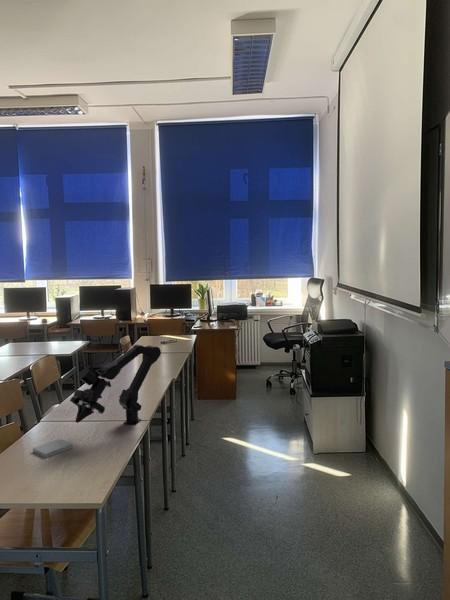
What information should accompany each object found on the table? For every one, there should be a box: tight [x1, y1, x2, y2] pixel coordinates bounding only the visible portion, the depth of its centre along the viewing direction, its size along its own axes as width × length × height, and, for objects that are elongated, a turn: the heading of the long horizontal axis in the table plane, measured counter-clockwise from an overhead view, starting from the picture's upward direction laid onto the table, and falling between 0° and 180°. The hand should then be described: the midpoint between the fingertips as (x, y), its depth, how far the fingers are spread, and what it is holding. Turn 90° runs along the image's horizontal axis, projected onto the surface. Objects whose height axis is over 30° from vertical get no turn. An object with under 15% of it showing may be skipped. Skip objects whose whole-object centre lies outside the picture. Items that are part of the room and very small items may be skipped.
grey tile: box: [32, 438, 74, 459], centre depth 186 cm, size 2×10×12 cm
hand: (76, 422), depth 195 cm, fingers closed
